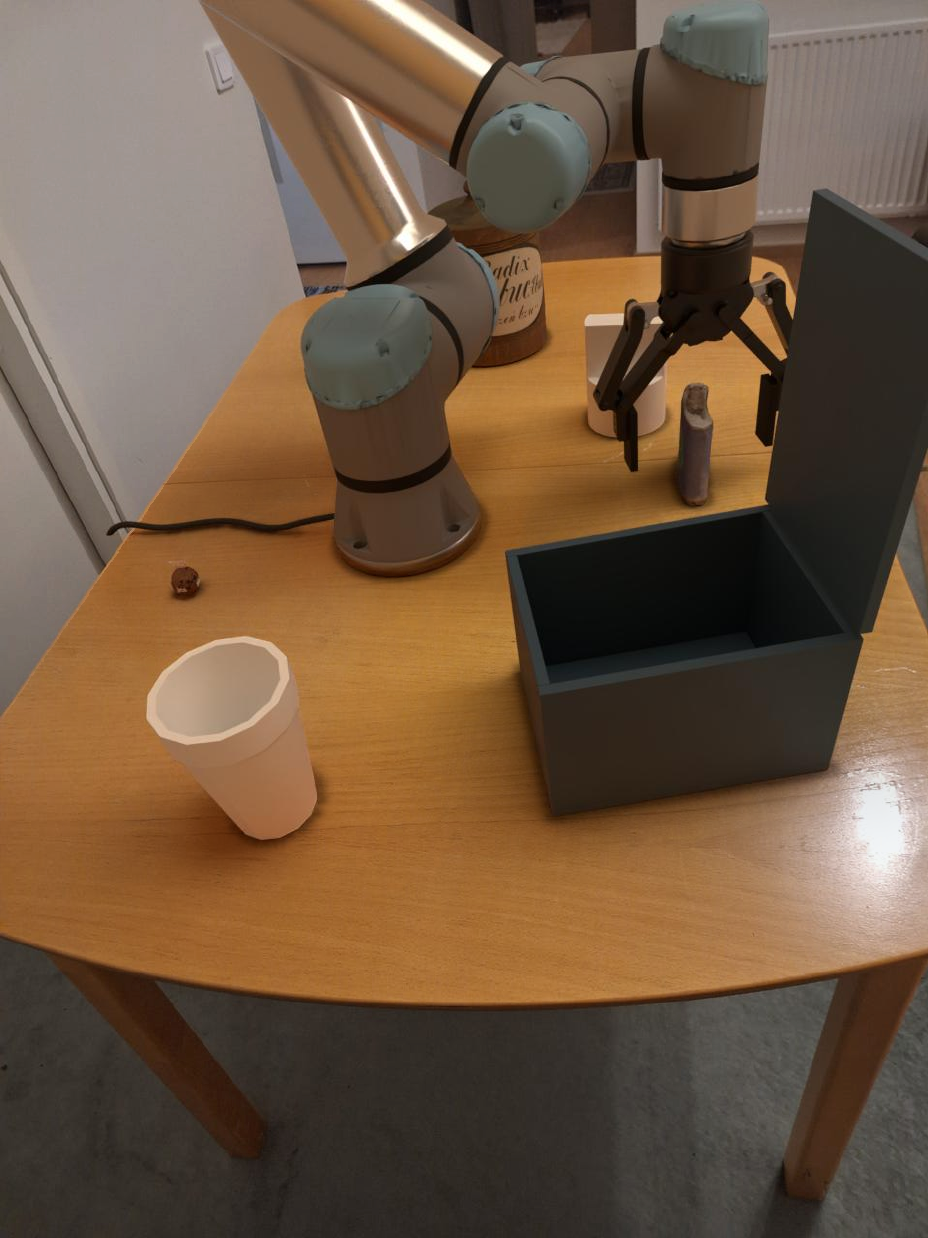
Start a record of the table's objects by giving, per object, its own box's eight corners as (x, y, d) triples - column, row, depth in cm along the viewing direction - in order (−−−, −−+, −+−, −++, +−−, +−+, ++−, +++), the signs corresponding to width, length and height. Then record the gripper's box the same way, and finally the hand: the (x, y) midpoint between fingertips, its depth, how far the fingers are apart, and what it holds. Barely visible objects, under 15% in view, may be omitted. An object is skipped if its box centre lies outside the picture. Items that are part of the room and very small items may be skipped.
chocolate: (171, 601, 81) (156, 571, 79) (177, 587, 83) (162, 557, 80) (200, 598, 81) (185, 567, 78) (205, 584, 83) (191, 553, 80)
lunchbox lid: (961, 281, 34) (1109, 257, 34) (812, 189, 45) (924, 171, 45) (859, 634, 48) (964, 617, 48) (764, 499, 59) (849, 485, 59)
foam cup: (342, 747, 64) (298, 629, 55) (332, 850, 57) (279, 733, 48) (226, 761, 65) (164, 646, 56) (202, 864, 58) (127, 751, 49)
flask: (708, 506, 81) (716, 409, 74) (678, 507, 81) (682, 410, 74) (702, 457, 87) (708, 363, 80) (674, 458, 88) (678, 365, 81)
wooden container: (463, 377, 109) (437, 202, 94) (432, 338, 120) (405, 176, 105) (563, 349, 111) (554, 173, 97) (524, 313, 122) (510, 151, 107)
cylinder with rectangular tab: (583, 437, 93) (578, 338, 85) (592, 399, 100) (589, 303, 92) (662, 438, 91) (666, 335, 83) (667, 399, 97) (671, 300, 89)
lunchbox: (553, 817, 57) (539, 695, 48) (520, 670, 68) (504, 550, 59) (828, 769, 56) (864, 639, 48) (751, 630, 67) (769, 503, 59)
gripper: (834, 191, 70) (803, 411, 84) (552, 247, 71) (568, 456, 85) (876, 215, 65) (836, 447, 79) (569, 275, 65) (584, 495, 79)
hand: (697, 452), depth 82 cm, fingers open, 13 cm apart
